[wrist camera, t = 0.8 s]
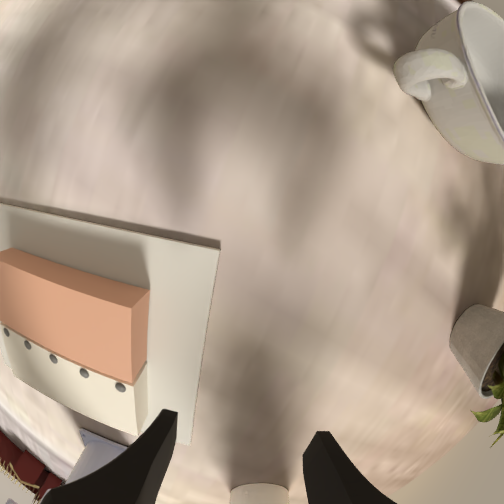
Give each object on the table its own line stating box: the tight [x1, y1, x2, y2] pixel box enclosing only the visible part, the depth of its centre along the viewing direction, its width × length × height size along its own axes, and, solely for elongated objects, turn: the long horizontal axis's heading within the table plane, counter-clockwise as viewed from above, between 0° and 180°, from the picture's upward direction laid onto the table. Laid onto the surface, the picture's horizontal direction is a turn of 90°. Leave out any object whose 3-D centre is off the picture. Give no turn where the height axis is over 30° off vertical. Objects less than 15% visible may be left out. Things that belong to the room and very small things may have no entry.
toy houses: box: [0, 431, 62, 504], centre depth 23 cm, size 45×20×10 cm, turn 49°
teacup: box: [393, 1, 504, 165], centre depth 10 cm, size 14×11×8 cm
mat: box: [0, 203, 221, 446], centre depth 18 cm, size 19×24×1 cm
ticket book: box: [0, 322, 148, 436], centre depth 17 cm, size 6×14×3 cm, turn 78°
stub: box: [0, 248, 150, 383], centre depth 15 cm, size 6×14×3 cm, turn 78°
